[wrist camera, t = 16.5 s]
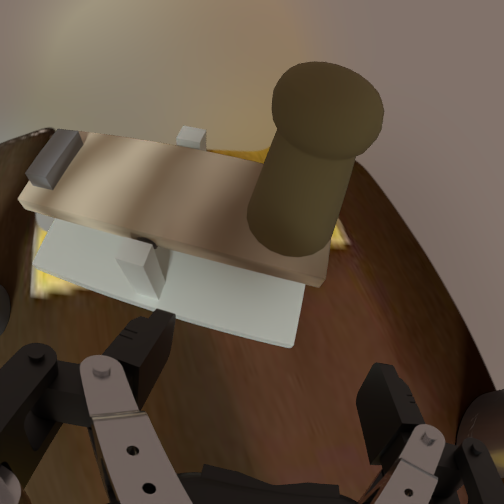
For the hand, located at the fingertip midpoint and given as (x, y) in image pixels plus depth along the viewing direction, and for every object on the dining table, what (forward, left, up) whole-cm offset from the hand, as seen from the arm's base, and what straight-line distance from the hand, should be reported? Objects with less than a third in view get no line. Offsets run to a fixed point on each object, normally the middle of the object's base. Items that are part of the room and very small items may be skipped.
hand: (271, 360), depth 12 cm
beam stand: (+9, -11, -13) cm, 19 cm away
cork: (0, -11, -6) cm, 12 cm away
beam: (+9, -11, -7) cm, 16 cm away
